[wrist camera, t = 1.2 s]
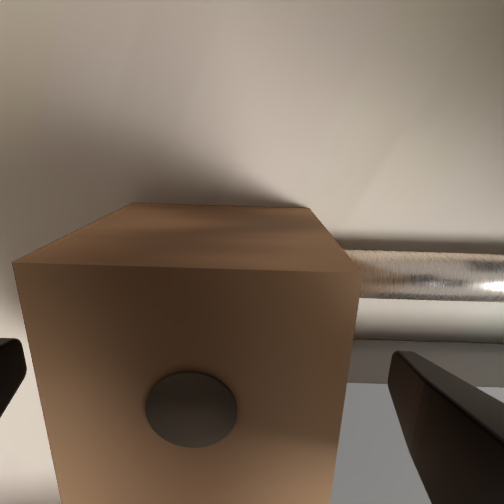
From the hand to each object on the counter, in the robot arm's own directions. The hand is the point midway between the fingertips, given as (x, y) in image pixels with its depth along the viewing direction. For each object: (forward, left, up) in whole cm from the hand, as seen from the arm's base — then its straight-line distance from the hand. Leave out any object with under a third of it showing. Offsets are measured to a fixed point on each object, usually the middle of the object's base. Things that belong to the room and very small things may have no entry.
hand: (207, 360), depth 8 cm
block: (0, 0, -4) cm, 5 cm away
